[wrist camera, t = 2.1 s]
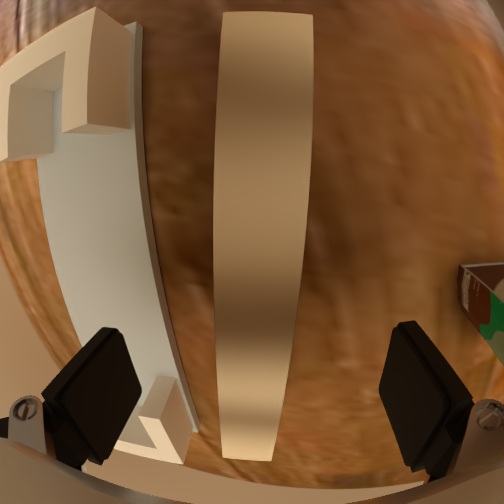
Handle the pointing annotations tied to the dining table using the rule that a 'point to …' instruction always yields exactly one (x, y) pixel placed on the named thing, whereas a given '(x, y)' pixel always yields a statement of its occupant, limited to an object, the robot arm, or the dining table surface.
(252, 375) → the slat
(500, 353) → the food container
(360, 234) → the dining table surface
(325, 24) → the dining table surface
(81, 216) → the frame
